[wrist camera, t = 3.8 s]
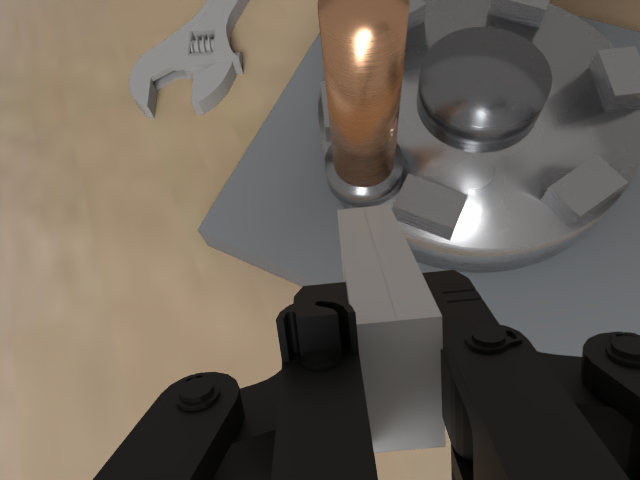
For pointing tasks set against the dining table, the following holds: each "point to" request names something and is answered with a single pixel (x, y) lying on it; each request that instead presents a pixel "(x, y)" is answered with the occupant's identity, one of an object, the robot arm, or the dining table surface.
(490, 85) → the metal rotary base
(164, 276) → the dining table surface
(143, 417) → the robot arm
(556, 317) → the base plate
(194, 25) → the adjustable wrench
